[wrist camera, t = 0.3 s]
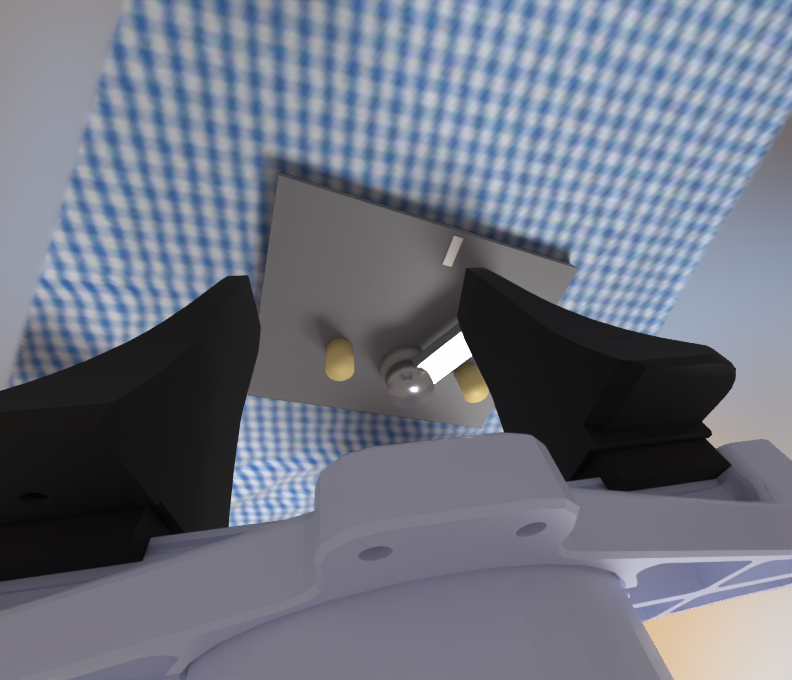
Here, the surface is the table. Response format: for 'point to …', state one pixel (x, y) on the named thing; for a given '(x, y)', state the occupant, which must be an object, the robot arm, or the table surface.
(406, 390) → the crank
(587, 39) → the table surface
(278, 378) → the base
